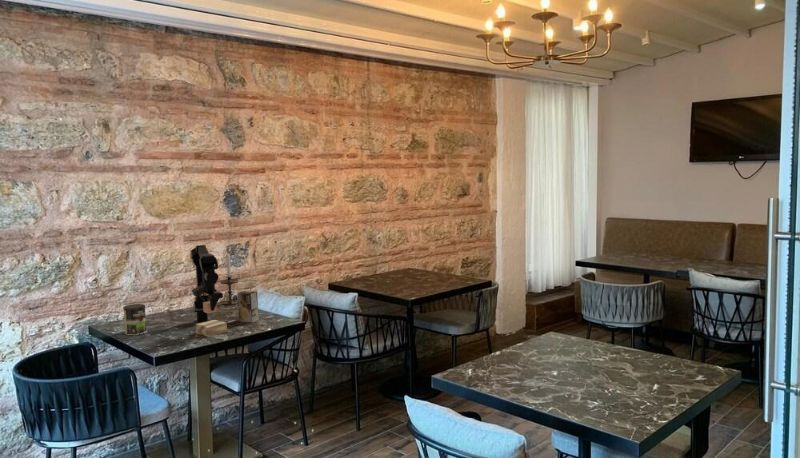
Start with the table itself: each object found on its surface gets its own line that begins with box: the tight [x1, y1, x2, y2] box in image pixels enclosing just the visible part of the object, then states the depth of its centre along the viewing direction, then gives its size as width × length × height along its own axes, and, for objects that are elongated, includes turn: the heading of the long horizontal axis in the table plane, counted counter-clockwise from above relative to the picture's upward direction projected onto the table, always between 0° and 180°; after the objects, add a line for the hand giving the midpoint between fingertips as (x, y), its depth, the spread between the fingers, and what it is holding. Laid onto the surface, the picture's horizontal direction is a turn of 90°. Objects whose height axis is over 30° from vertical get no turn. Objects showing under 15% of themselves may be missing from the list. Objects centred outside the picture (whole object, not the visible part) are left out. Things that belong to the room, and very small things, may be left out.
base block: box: [195, 319, 228, 338], centre depth 297 cm, size 11×11×5 cm
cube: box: [203, 301, 218, 314], centre depth 295 cm, size 5×5×5 cm
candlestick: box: [219, 248, 239, 306], centre depth 358 cm, size 11×11×35 cm
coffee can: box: [123, 303, 148, 336], centre depth 297 cm, size 10×10×14 cm
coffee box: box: [237, 290, 260, 323], centre depth 318 cm, size 9×6×16 cm
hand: (210, 309), depth 296 cm, fingers closed on cube, 5 cm apart
